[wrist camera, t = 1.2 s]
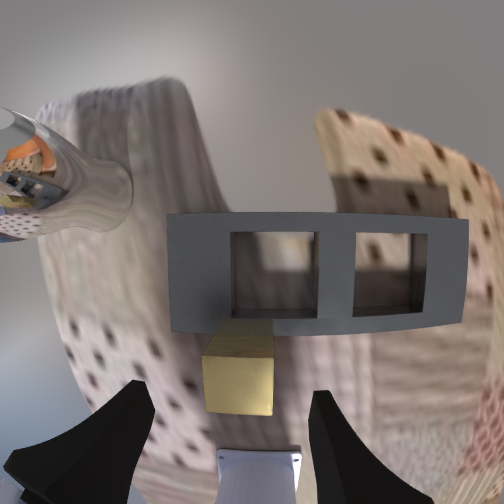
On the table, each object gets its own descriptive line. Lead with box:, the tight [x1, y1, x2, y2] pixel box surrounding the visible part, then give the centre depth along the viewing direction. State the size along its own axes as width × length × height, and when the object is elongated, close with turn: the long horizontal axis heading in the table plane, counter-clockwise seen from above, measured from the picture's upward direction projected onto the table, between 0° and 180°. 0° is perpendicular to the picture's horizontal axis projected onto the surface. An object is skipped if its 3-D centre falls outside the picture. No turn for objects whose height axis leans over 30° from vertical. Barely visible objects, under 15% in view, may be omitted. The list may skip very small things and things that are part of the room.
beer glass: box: [0, 107, 133, 243], centre depth 13 cm, size 7×7×15 cm
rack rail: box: [167, 212, 469, 336], centre depth 19 cm, size 8×22×2 cm, turn 91°
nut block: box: [201, 334, 274, 415], centre depth 18 cm, size 4×4×6 cm
